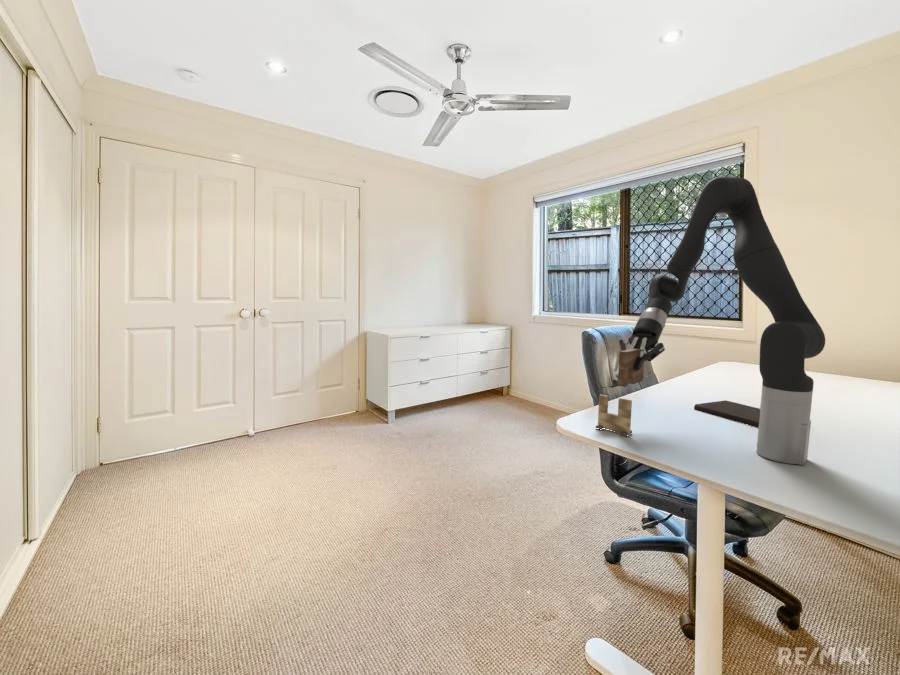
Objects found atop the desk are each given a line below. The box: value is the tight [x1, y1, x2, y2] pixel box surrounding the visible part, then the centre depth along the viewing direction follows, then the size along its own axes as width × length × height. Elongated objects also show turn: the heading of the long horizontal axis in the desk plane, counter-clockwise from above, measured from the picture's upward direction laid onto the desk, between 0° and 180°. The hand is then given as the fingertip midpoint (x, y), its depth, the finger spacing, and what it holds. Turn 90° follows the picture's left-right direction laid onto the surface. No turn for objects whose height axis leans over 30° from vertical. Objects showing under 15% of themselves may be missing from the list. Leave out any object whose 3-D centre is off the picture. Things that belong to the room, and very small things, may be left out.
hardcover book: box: [693, 399, 760, 429], centre depth 128 cm, size 16×23×2 cm
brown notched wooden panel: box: [617, 348, 645, 388], centre depth 115 cm, size 2×12×10 cm, turn 131°
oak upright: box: [595, 394, 633, 437], centre depth 113 cm, size 9×4×10 cm, turn 42°
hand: (630, 368), depth 115 cm, fingers closed on brown notched wooden panel, 2 cm apart
